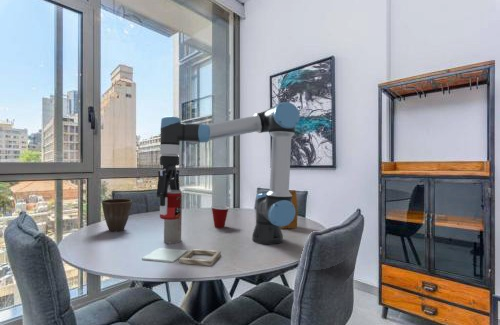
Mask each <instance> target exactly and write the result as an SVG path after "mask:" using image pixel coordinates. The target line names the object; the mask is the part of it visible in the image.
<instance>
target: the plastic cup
mask: <svg viewBox="0 0 500 325" xmlns="http://www.w3.org/2000/svg"><path fill="white" fill-rule="evenodd" d="M210 207H211V211H212V219H213V224H214V225H213V226H214V228H217V229H221V228H223V229H224V227H225V226H226V220H227V215H228V212H229V210H230V207H229V206H226V205H211V206H210Z"/></svg>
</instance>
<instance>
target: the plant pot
mask: <svg viewBox="0 0 500 325" xmlns="http://www.w3.org/2000/svg"><path fill="white" fill-rule="evenodd" d="M132 204H133V199H128V198H113V199H112V198H111V199H105V200H102V201H101V205H102V206H101V207H102V211H103V217H104V220H105V223H106V227H107V228H108V231H109V232H122V231H124V230H125V228H126V226H127V223H128V219H129V216H130V213H131V208H132Z"/></svg>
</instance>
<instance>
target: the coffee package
mask: <svg viewBox="0 0 500 325" xmlns="http://www.w3.org/2000/svg"><path fill="white" fill-rule="evenodd" d="M289 192H290V193H291V195H292V204H293V205H294V207H295V217H294V219H293V221H292V222H291V223H290V224H288V225H286V226H282V227H281V226H280V228H281V230H284V229H287V228H288V230H291V229H290V228H293V229H297V228H298V198H297V190H295V189H294V190H289Z"/></svg>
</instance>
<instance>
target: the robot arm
mask: <svg viewBox="0 0 500 325" xmlns="http://www.w3.org/2000/svg"><path fill="white" fill-rule="evenodd" d="M300 117H301V114H300V110H299V109H298V108H297V106H296V105H295V104H293V103H292V102H289V101H288V102H287V101H283V102H278V103H277V104H276V105H274V106H272V107H270V108H267V109H266V110H264V111H261V112H256V113H254V115H252V116H248V117H241V118H236V119H231V120H225V121H220V122H219V121H218V122H214V123H209V124H204V123H189V122H188V123H187V122H182V121H181V118H180V117H178V116H170V115H169V116H163V117H162V118H161V122H160V141H159V142H160V144H159V145H160V146H159V150H160V151H159V152H160V153H159V154H160V156H159V165H160V166H162V169H159V170H158V172H157V175H158V179H157V189H156V190H157V191H156V197H157V198H159V215H160V214H167V197H166V195H167V191H168V186H169V183H170V189H171V190H180V191H181V189H180V169H177V168H176V166H177V167H178V166H180V156H179V155H180V147H181V146H180V145H181V142H187V143H188V144H190V145H197V144H200V143H201V144H202V143H209V142H211V141H215V140H219V139H225V138H229V137H236V136H241V135H245V134H251V133H254V132H255V133H258V134H262V133H268V134H269V135H270V136H271V155H270V173H269V174H270V176H269V190H268V191H267V192H266V193H258V194H256V199H255V201H256V204H255V206H256V207H255V211H256V212H255V226H254V230H253V232H252V236H251V240H252V241H253V242H254V243H258V244H262V245H273V244H274V245H275V244H280V242H281V243H282V242H283V241H284V234H283V232H282V229H281V228H280V226H281V227H282V226H286V225H288V224H290V223H291V222H292V221H293V219H294V217H295V207H294V205H293V204H292V195H291V193H290V192H289V191H290V178H291V177H290V176H291V175H290V174H291V173H290V172H291V150H292V137H294V136H295V135H296V127H297V126H298V124H299V122H300Z"/></svg>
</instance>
